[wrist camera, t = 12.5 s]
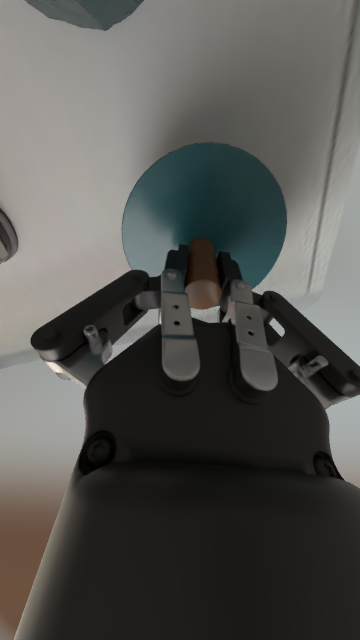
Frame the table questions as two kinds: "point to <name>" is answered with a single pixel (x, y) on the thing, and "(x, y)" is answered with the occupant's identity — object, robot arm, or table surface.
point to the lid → (205, 217)
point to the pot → (87, 11)
